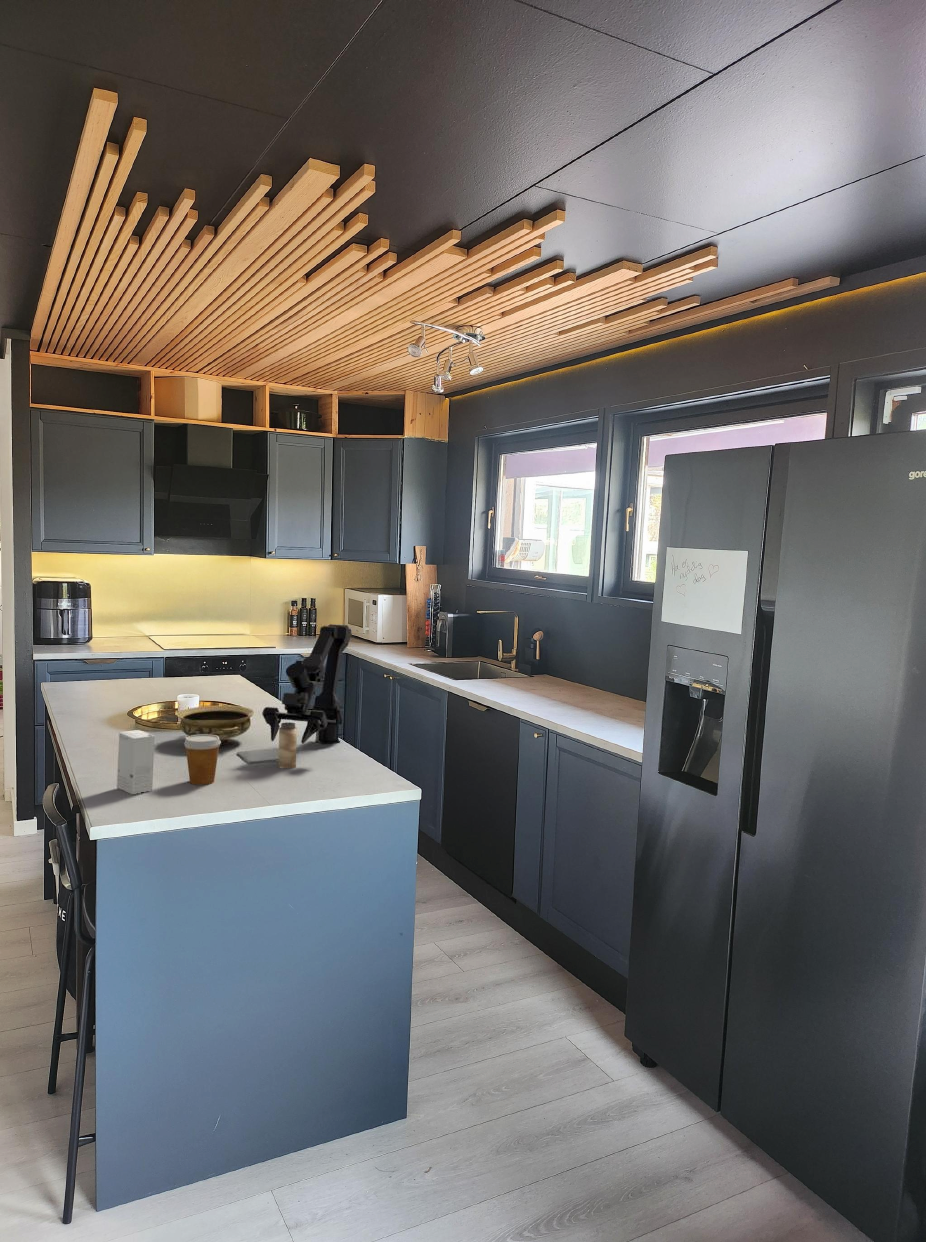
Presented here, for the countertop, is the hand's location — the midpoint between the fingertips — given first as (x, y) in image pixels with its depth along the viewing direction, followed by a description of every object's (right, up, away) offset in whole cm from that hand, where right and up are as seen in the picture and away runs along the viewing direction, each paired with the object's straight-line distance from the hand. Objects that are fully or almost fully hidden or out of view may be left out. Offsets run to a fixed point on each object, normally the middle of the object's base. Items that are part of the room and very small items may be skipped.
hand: (287, 741), depth 243 cm
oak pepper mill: (0, -7, +1) cm, 7 cm away
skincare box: (-33, -9, -27) cm, 44 cm away
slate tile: (-9, -6, +11) cm, 16 cm away
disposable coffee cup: (-19, -8, -18) cm, 27 cm away
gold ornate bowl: (-29, -4, +26) cm, 39 cm away
